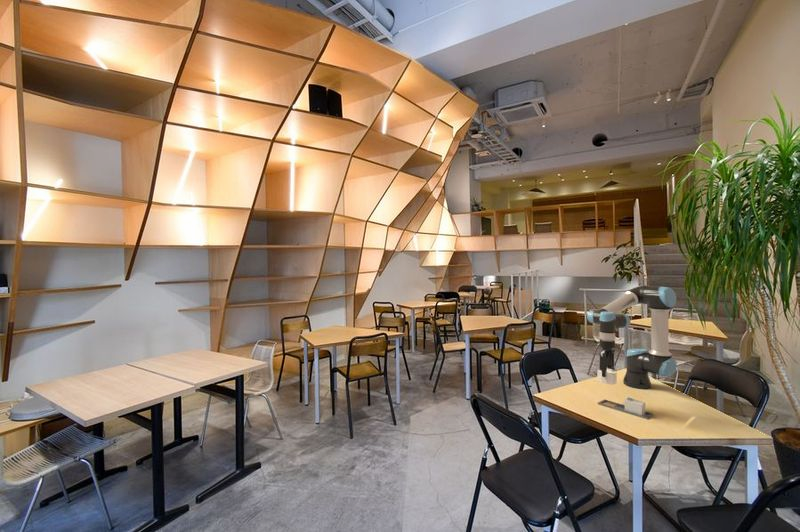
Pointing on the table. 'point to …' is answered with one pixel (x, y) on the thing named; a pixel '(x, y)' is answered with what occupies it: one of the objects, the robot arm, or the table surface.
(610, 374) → the block
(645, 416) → the rail
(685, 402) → the table surface
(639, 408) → the module seated
